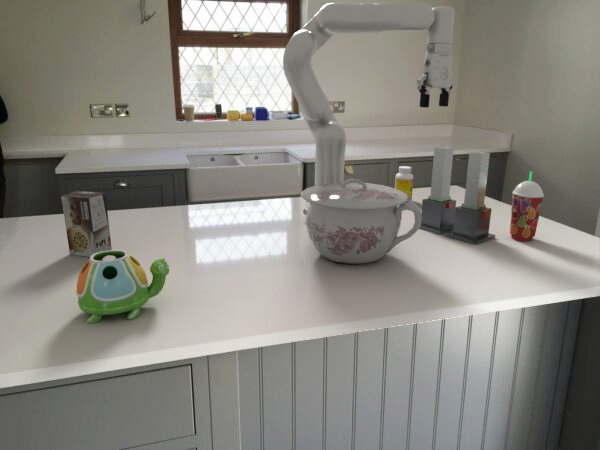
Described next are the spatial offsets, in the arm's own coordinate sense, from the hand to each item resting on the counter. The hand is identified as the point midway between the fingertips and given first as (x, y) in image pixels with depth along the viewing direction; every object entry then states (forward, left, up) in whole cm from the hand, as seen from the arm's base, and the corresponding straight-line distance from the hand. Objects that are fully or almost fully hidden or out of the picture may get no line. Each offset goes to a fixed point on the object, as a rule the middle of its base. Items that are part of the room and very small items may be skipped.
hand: (433, 106), depth 160 cm
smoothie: (+3, -33, -36) cm, 49 cm away
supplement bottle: (+11, +19, -36) cm, 43 cm away
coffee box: (-101, +31, -36) cm, 112 cm away
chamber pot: (-47, -13, -36) cm, 61 cm away
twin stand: (-8, -23, -36) cm, 44 cm away
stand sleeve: (-8, -11, -36) cm, 39 cm away
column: (-8, -11, -29) cm, 32 cm away
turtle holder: (-106, -7, -37) cm, 112 cm away
